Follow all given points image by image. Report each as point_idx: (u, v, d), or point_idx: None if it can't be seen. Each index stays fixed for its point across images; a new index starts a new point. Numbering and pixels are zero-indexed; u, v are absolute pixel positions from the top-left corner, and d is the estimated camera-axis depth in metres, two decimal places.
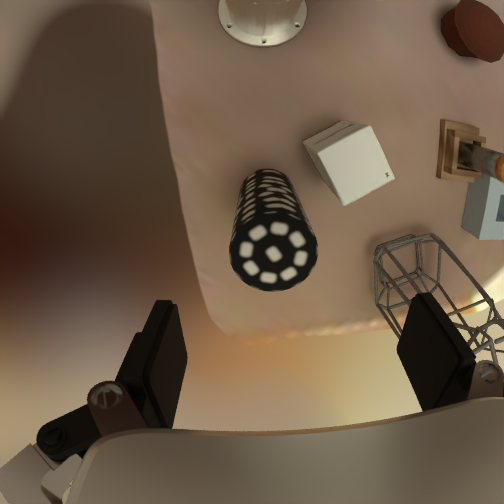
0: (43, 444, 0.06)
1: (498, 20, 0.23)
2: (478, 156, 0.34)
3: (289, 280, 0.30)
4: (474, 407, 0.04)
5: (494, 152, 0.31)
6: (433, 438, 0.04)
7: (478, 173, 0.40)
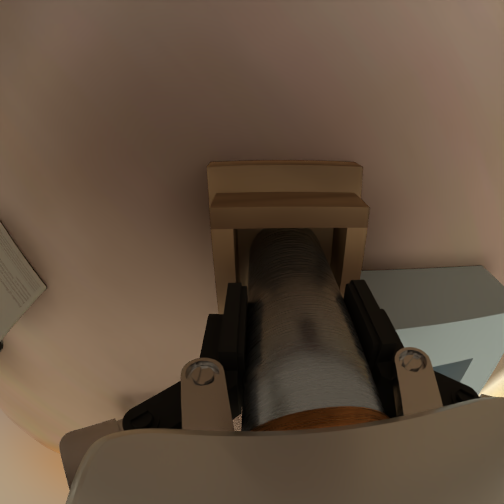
0: (132, 430, 0.07)
1: None
2: (247, 333, 0.10)
3: None
4: (474, 407, 0.04)
5: (285, 361, 0.08)
6: (433, 438, 0.04)
7: None
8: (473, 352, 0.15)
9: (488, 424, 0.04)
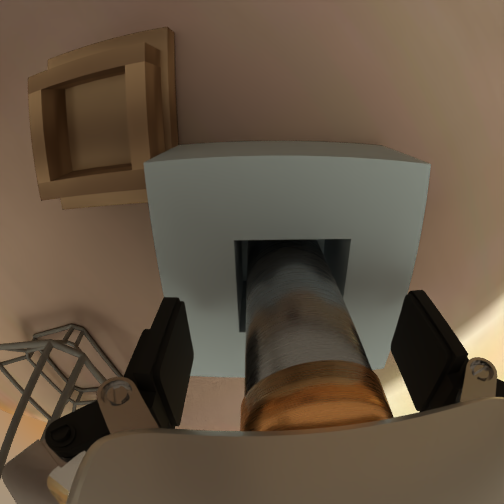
0: (52, 441, 0.06)
1: None
2: (247, 309, 0.12)
3: None
4: (474, 407, 0.04)
5: (282, 326, 0.09)
6: (433, 438, 0.04)
7: (135, 174, 0.14)
8: (345, 227, 0.13)
9: (488, 424, 0.04)
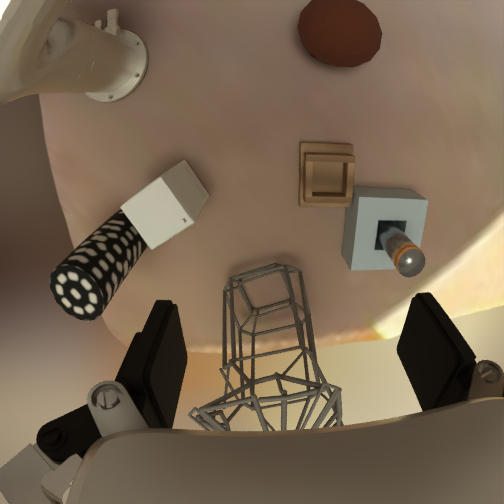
0: (43, 444, 0.06)
1: (358, 12, 0.27)
2: (383, 238, 0.42)
3: (92, 313, 0.35)
4: (474, 407, 0.04)
5: (397, 238, 0.39)
6: (433, 438, 0.04)
7: (346, 198, 0.44)
8: (405, 217, 0.43)
9: (488, 424, 0.04)
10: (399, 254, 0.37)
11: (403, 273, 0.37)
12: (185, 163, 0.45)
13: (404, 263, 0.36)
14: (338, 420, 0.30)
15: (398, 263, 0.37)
